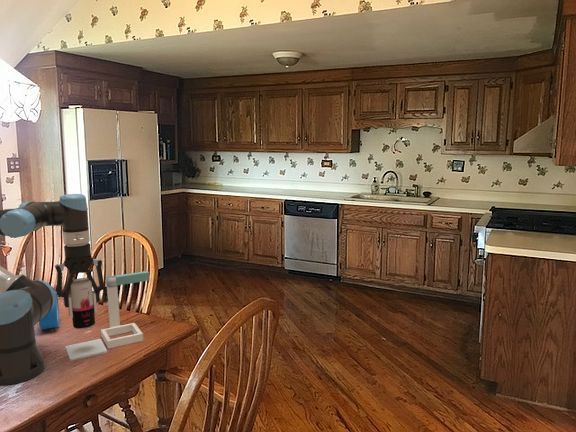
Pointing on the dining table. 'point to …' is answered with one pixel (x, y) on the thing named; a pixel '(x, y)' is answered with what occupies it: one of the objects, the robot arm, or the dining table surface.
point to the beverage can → (82, 303)
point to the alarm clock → (51, 316)
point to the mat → (85, 349)
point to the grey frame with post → (118, 324)
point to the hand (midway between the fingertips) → (83, 313)
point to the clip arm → (127, 278)
